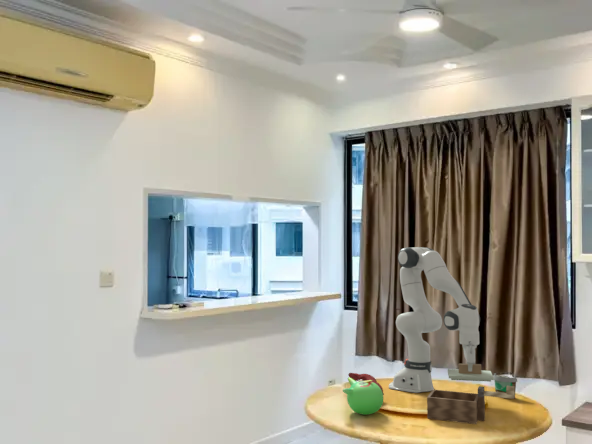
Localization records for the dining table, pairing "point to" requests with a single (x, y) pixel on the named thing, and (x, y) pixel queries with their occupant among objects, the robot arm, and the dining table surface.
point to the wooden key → (509, 393)
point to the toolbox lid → (470, 373)
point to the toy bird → (364, 396)
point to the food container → (503, 383)
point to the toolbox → (456, 406)
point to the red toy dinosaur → (364, 378)
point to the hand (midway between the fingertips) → (469, 370)
